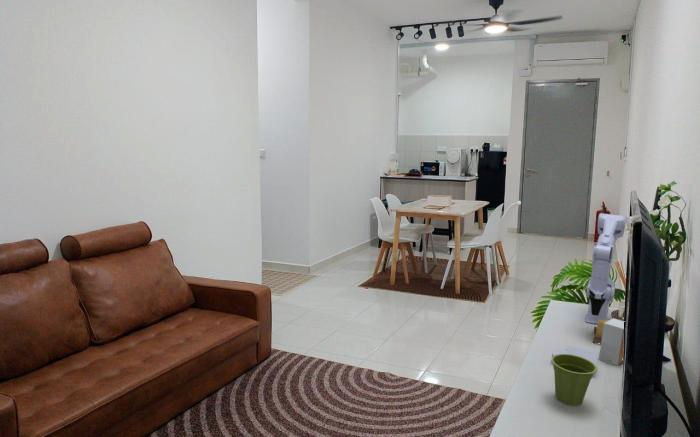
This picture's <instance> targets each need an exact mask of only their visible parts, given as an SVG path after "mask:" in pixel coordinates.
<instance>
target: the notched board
mask: <svg viewBox="0 0 700 437" xmlns="http://www.w3.org/2000/svg"><path fill="white" fill-rule="evenodd" d="M596 331H597V326H594V328H593V333H594V335H593V342H594V343H593V342H592V343H593V344H597V343H600V344H599V345H601V340H602V335H597V334H596Z"/></svg>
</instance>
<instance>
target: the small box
mask: <svg viewBox="0 0 700 437" xmlns="http://www.w3.org/2000/svg"><path fill="white" fill-rule="evenodd" d="M624 322H625V321H624V320H621V319H617V318H615V317H613V318H611V319H609V320H608V321H607V322H606V323H604V327H603V334H602V340H601V344H600V348H599V352H598V353H599V354H598V360H600V361H602V362H606V363H608V364H611V365H615V366H617V365H618V366H619V365H620V364H621V363H623V362H622V358H623V333H624Z"/></svg>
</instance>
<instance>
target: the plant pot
mask: <svg viewBox="0 0 700 437" xmlns="http://www.w3.org/2000/svg"><path fill="white" fill-rule="evenodd" d="M551 360H552V362H553V365H552V366H553V370H554V396H555V398H556V399H557V401H558V402H560V403H562V404H564V405H571V406H575V407H577V406H580V405H582V404H583V402H584V399H585V397H586V395H587V394H586V393H587V391H588V388H589V385H590V382H591V380H592V378H593V376H594V374H595V373H596V372H597V371H598V366H597V364H596V365H595V364H594V363H593V362H591V361H589V360H587V359H585V358H583V357H580V356H576V355H571V354H557V355H554V356H553V357H552V356H551ZM551 360H550V361H551Z"/></svg>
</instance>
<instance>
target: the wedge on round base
mask: <svg viewBox="0 0 700 437" xmlns="http://www.w3.org/2000/svg"><path fill="white" fill-rule="evenodd" d="M551 353H552V354H551V358H552V357H553V356H554V355H557V354H571V355H576V356H580V357H583V358H585V359H587V360H589V361H591V362H593V363H594V364H595V365H596V366H597V356H598V352H597V351H595V350H589V349H585V348H580V347H576V346H571V345H568V346H567V349H559V348H558V349H554V350H552V352H551ZM550 364H551V365H552V366H553V362H552V360H550Z"/></svg>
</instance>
